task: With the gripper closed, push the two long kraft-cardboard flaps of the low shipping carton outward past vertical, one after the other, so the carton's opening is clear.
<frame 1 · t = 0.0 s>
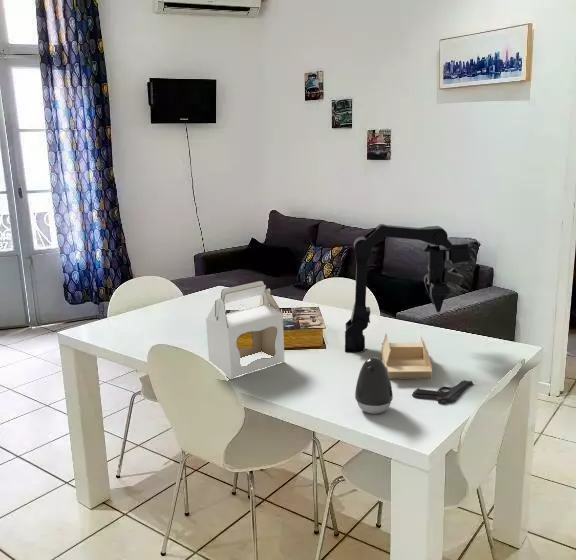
hand: (436, 308, 212), 15 cm above the table, fingers open, 9 cm apart
flap 2: (425, 348, 197), point 7 cm above the table, hinge at -15.0°
gable box: (247, 366, 206), on the table
dark grey egg device: (373, 410, 170), on the table
carton: (405, 367, 199), on the table
flap 1: (386, 348, 198), point 7 cm above the table, hinge at -15.0°
handgun: (443, 392, 181), on the table
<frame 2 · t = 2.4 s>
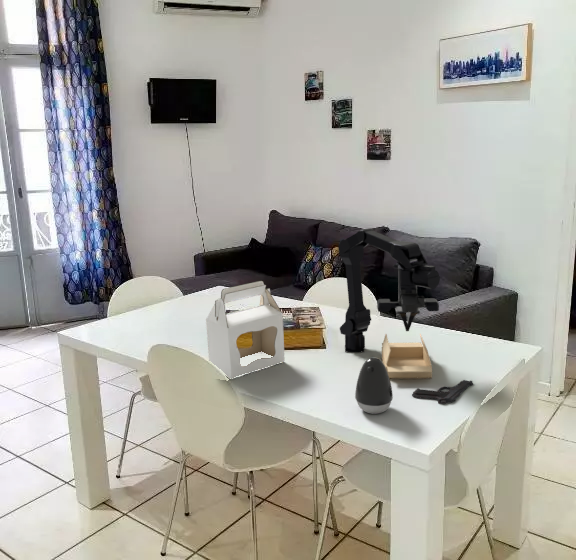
hand: (407, 330, 196), 12 cm above the table, fingers closed
nothing on the table moved.
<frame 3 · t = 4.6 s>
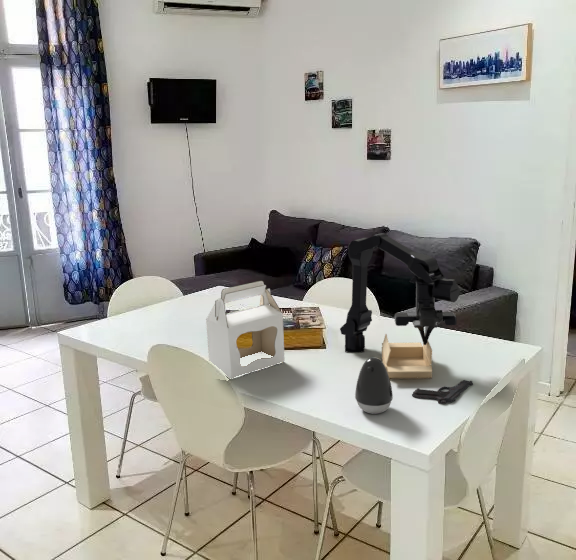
hand: (424, 344, 197), 8 cm above the table, fingers closed
flap 2: (427, 347, 197), point 7 cm above the table, hinge at 2.5°, touching gripper
everything else where it was.
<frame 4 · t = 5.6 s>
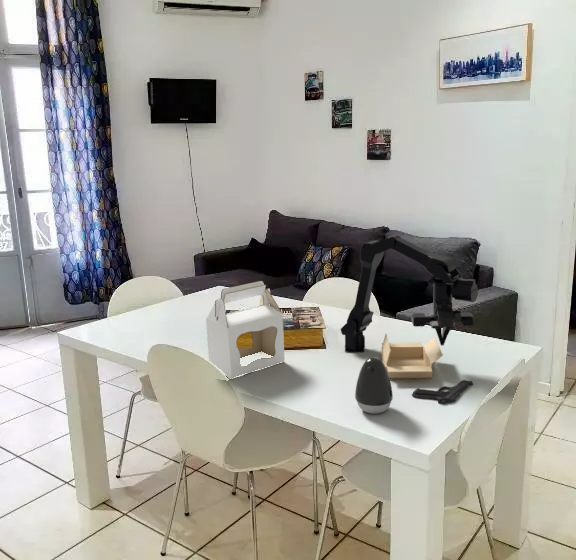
hand: (442, 345, 196), 8 cm above the table, fingers closed
flap 2: (432, 350, 197), point 6 cm above the table, hinge at 48.9°
everything else where it was.
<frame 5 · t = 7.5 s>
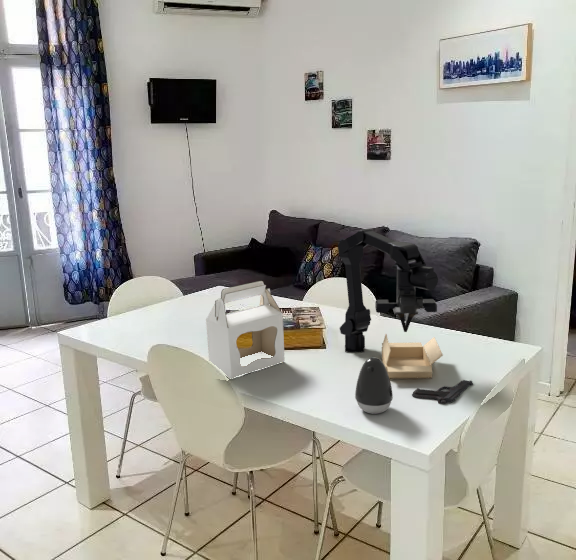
hand: (405, 331, 196), 12 cm above the table, fingers closed
nothing on the table moved.
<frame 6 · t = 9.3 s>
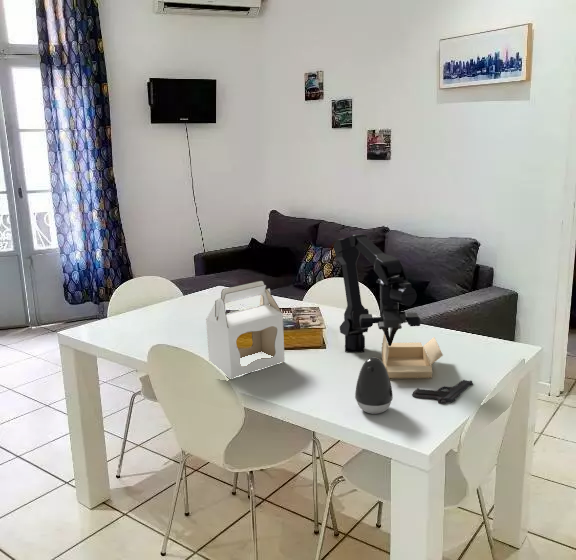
hand: (389, 345, 198), 8 cm above the table, fingers closed
flap 1: (385, 348, 198), point 7 cm above the table, hinge at -8.3°, touching gripper
everything else where it was.
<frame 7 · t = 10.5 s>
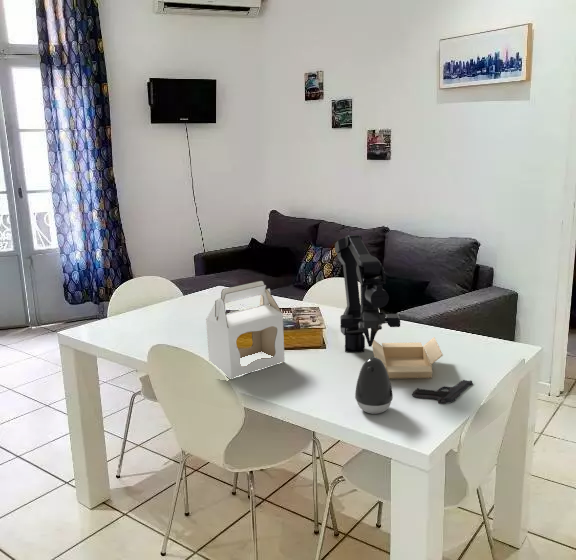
hand: (370, 346, 198), 7 cm above the table, fingers closed
flap 1: (378, 350, 198), point 6 cm above the table, hinge at 50.8°
everything else where it was.
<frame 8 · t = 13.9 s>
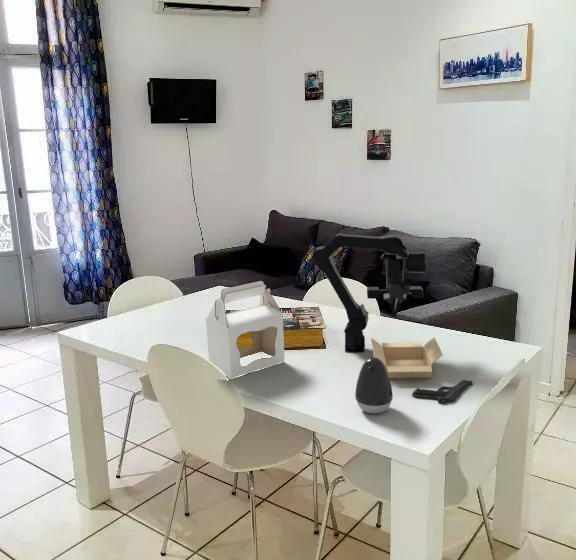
hand: (394, 316, 212), 12 cm above the table, fingers closed
nothing on the table moved.
at the end: flap 2 at +49° (first picture: -15°); flap 1 at +51° (first picture: -15°) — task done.
